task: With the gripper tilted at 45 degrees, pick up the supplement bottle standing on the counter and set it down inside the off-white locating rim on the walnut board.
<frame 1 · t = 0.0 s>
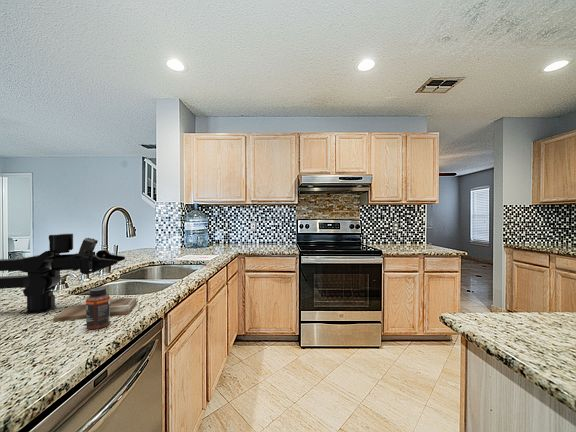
hand: (121, 259, 104), 17 cm above the counter, tool horizontal, fingers open, 9 cm apart
supplement bottle: (98, 326, 83), on the counter
walnut board: (98, 311, 96), on the counter
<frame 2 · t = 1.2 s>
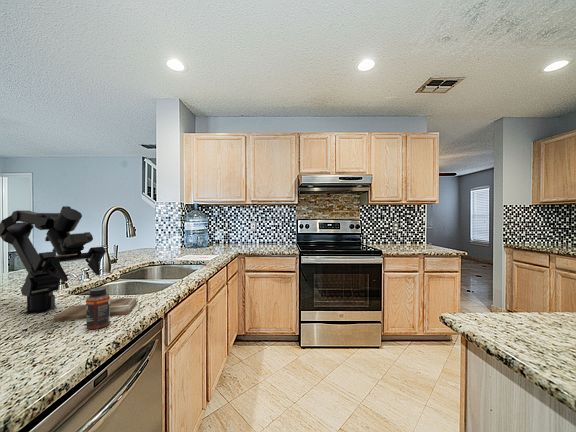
hand: (83, 277, 87), 14 cm above the counter, tool tilted 45°, fingers open, 9 cm apart
nothing on the counter moved.
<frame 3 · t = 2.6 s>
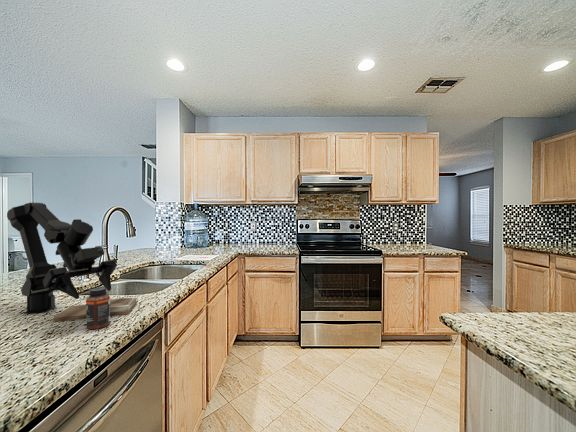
hand: (94, 293, 84), 10 cm above the counter, tool tilted 45°, fingers open, 9 cm apart
nothing on the counter moved.
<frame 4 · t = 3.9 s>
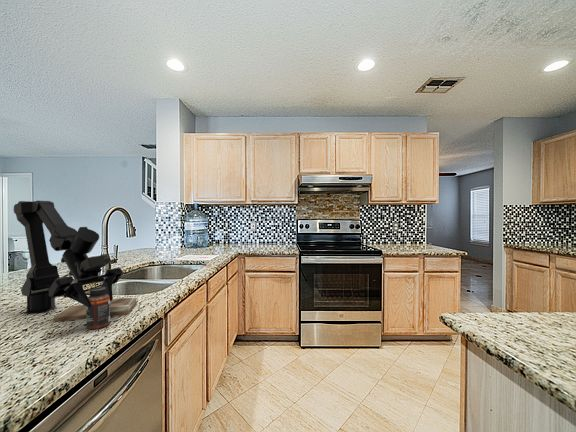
hand: (101, 303, 83), 7 cm above the counter, tool tilted 45°, fingers closed on supplement bottle, 6 cm apart
supplement bottle: (98, 326, 83), on the counter, touching gripper
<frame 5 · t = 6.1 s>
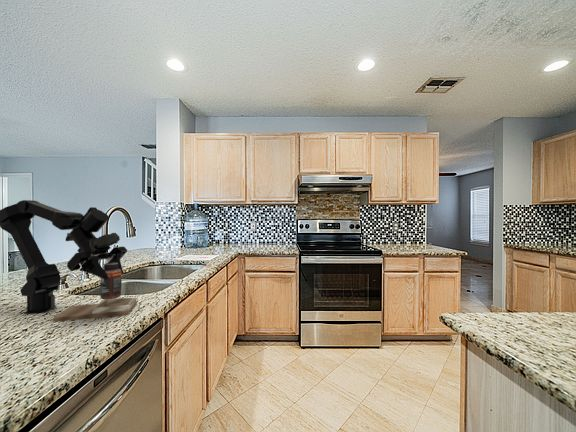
hand: (114, 276, 91), 13 cm above the counter, tool tilted 45°, fingers closed on supplement bottle, 6 cm apart
supplement bottle: (111, 298, 92), point 6 cm above the counter, touching gripper
when the fingers open (9 cm above the counter, at t = 8.1 s): supplement bottle stays where it is, resting on walnut board.
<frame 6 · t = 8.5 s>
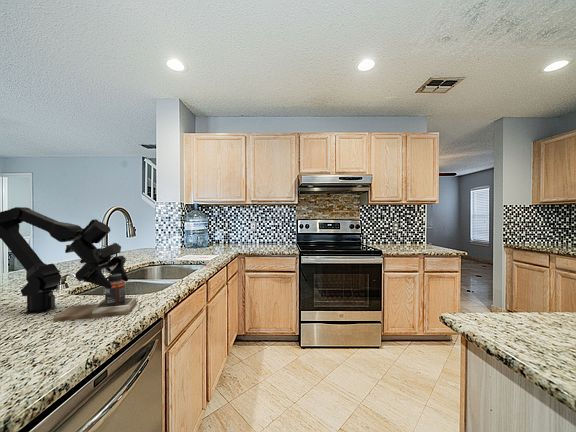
hand: (119, 284, 97), 9 cm above the counter, tool tilted 45°, fingers open, 9 cm apart
supplement bottle: (115, 307, 97), point 1 cm above the counter, touching walnut board
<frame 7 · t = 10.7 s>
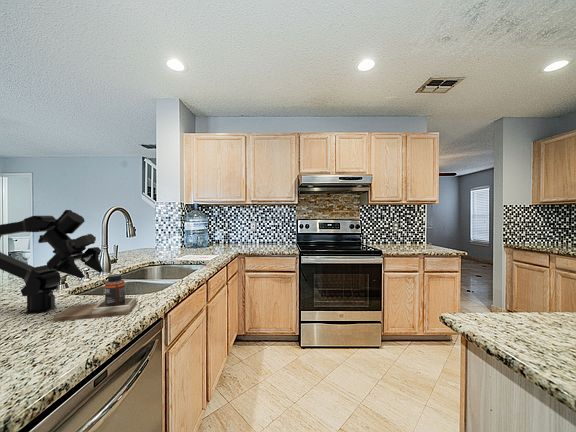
hand: (93, 274, 97), 13 cm above the counter, tool tilted 45°, fingers open, 9 cm apart
nothing on the counter moved.
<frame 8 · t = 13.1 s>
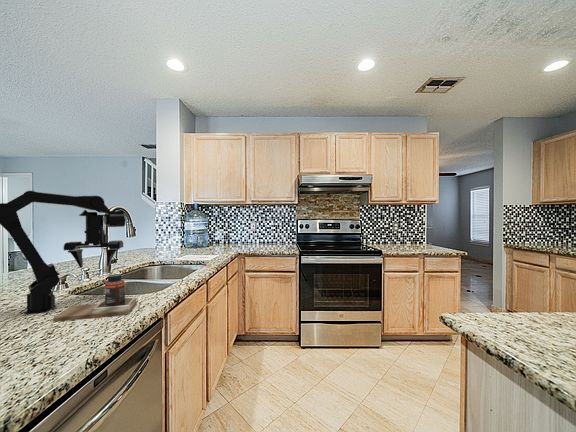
hand: (94, 267, 109), 13 cm above the counter, tool pointing down, fingers open, 9 cm apart
nothing on the counter moved.
at the end: supplement bottle 0.2 cm from the target spot on the walnut board, point 1.0 cm above the walnut board's base; supplement bottle tilted 0°; the gripper is holding nothing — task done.
